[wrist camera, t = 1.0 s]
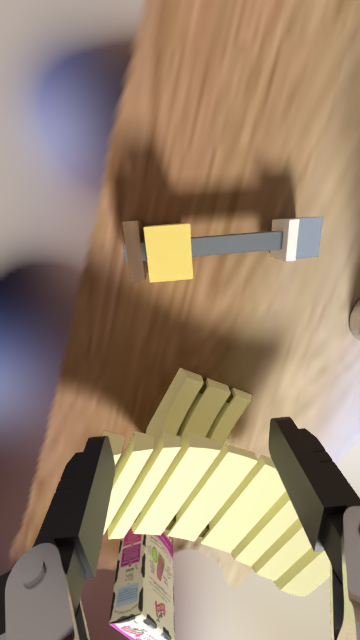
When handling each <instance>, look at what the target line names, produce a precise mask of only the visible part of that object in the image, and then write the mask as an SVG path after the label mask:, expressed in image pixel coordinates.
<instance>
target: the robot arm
mask: <svg viewBox="0 0 360 640" xmlns="http://www.w3.org/2000/svg"><path fill="white" fill-rule="evenodd" d="M350 329H351V331H352V334H353V335H354V336H355V337H356V338H357V339H359V340H360V299H359V300H358V302H357V303H356V304H355V306H354V308H353V310H352V313H351V316H350ZM269 451H270V455H271V458H272V461H273V463H274V465H275V467H276V469H277V472H278V474H279V476H280V478H281V480H282V483H283V485H284V487H285V489H286V491H287V494H288V496H289V498H290V500H291V502H292V505H293V507H294V509H295V511H296V513H297V515H298V518H299V520H300V522H301V524H302V526H303V529H304V531H305V533H306V535H307V537H308V540H309V542H310V544H311V546H312V548H313V551H314V552H318V551H325V552H326V554H327V556H328V558H329V560H330V618H331V621H330V622H331V640H360V498H359V497H358V496H357V494H356V493H355V491H354V490H353V488H352V487H351V486H350V484H349V483H348V482H347V480H346V478H345V477H344V476H343V474H342V473H341V471H340V470H339V469H338V467H337V466H336V464H335V463H334V462H333V461H332V459H331V457H330V456H329V454H328V453H327V452H326V451H325V449H324V447H323V446H322V445H321V443H320V442H319V440H318V439H317V438H316V437H315V436H314V435H313V434H311V433H310V432H309V431H308V430H306V429H305V428H304V429H298V428H297V426H296V425H295V423H294V422H293V420H292V419H291V418H290V417H281V418H272V419H271V421H270V432H269ZM114 475H115V461H114V456H113V453H112V449H111V445H110V441H109V437H108V436H100V437H91V438H89V439H88V441H87V443H86V446H85V449H84V452H79V453H75V455H74V456H73V457H72V458H71V460H70V461H69V462H68V463H67V465H66V467H65V469H64V472H63V474H62V477H61V481H60V482H59V484H58V487H57V489H56V493H55V494H54V497H53V499H52V502H51V504H50V507H49V509H48V512H47V514H46V517H45V519H44V522H43V524H42V527H41V529H40V531H39V534H38V536H37V539H36V541H35V543H34V545H33V547H32V548H31V549H30V550H29V551H27V552H26V553H25V554H24V555H23V556H22V557H21V558H20V559H19V560H18V561H17V563H16V564H15V566H14V567H13V569H11V570H10V571H9V572H7V573H5V574H4V575H1V576H0V640H90V638H89V633H88V629H87V624H86V620H85V616H84V611H83V607H82V603H81V599H80V597H81V592H82V587H83V583H84V579H90V578H95V574H96V569H97V564H98V559H99V553H100V548H101V543H102V538H103V533H104V528H105V522H106V517H107V512H108V507H109V502H110V497H111V491H112V486H113V481H114Z"/></svg>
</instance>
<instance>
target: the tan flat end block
mask: <svg viewBox="0 0 360 640" xmlns="http://www.w3.org/2000/svg"><path fill="white" fill-rule="evenodd" d="M122 225H123V231H124V238H125V245H126V251H127V258H128V265H129V271H130V278H131V282H140V281H145V280H146V277H147V273H148V267H147V261H143V259H142V251H141V242H142V241H144V234H143V226H142V221H125V222H122Z"/></svg>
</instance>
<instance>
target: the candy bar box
mask: <svg viewBox="0 0 360 640" xmlns="http://www.w3.org/2000/svg"><path fill="white" fill-rule="evenodd" d="M109 624H110V625H111V626H113V627H114V628H116V629H117V630H118V631H120V632H121V633H122V634H123V635H125V636H126V637H128V638H129V639H131V640H175V628H174V586H173V545H172V537H170V536H167V532H166V530H164V531H163V533H162V534H161V535H150V534H133V531H132V526H131V527H130V529H129V530H128V532H127V534H126V535H125V537H124V538H121V540H120V548H119V555H118V561H117V569H116V577H115V585H114V591H113V598H112V605H111V613H110V620H109Z"/></svg>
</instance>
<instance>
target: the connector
mask: <svg viewBox="0 0 360 640" xmlns="http://www.w3.org/2000/svg"><path fill="white" fill-rule="evenodd" d="M284 219H300V220H299V230H298V239H297V249H296V259H299V258H311V257H318V252H319V245H320V238H321V230H322V223H323V217H298V218H284ZM272 220H279V219H272ZM271 231H272V227H271ZM270 251H271V250H270Z"/></svg>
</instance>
